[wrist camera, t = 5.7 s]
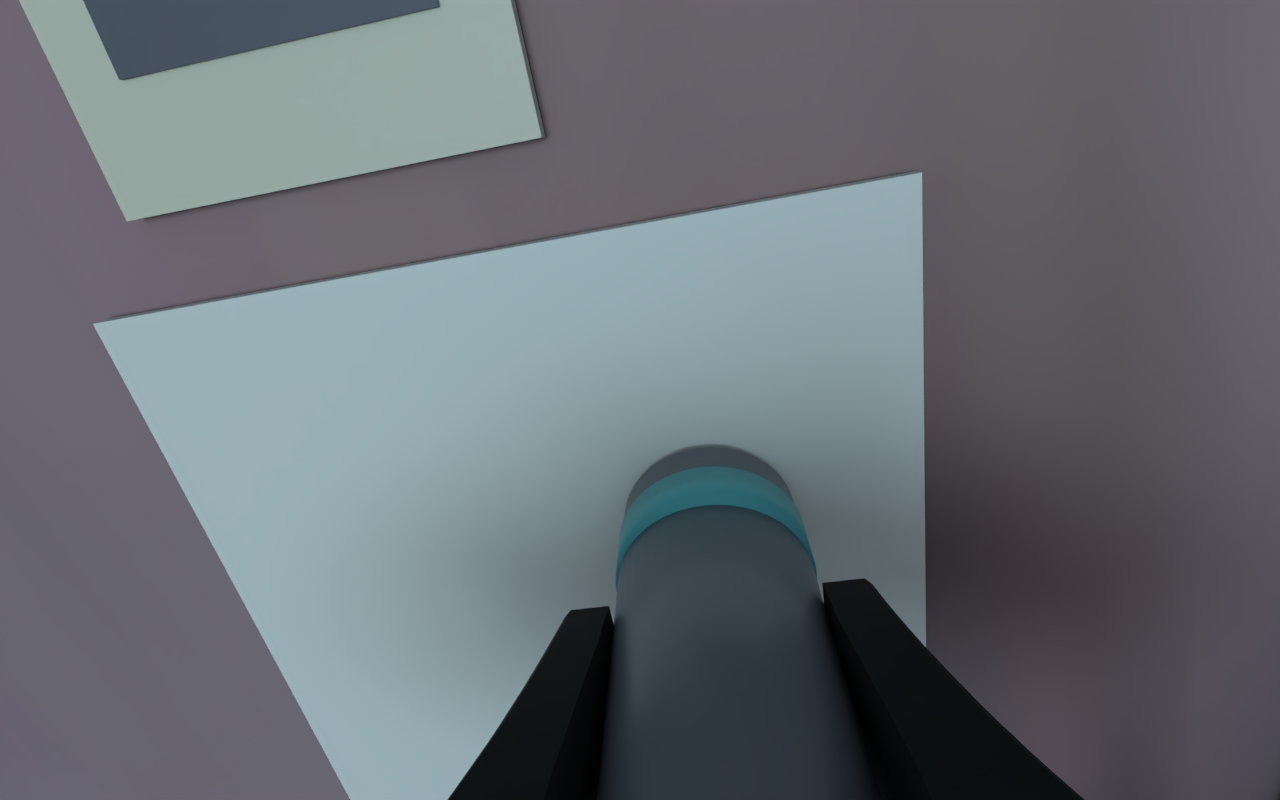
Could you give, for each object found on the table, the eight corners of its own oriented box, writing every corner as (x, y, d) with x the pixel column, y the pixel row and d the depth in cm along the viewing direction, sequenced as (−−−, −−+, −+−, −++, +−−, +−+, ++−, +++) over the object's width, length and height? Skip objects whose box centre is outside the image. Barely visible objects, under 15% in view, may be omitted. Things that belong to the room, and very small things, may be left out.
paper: (914, 171, 10) (921, 172, 9) (922, 754, 15) (927, 766, 14) (107, 319, 11) (93, 323, 11) (361, 799, 16) (356, 810, 16)
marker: (793, 434, 11) (1222, 1649, 3) (801, 578, 13) (1091, 1658, 4) (608, 456, 11) (428, 1591, 3) (636, 593, 13) (575, 1615, 4)
